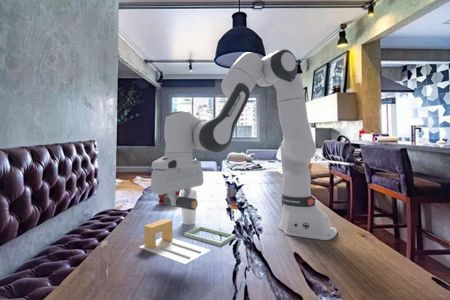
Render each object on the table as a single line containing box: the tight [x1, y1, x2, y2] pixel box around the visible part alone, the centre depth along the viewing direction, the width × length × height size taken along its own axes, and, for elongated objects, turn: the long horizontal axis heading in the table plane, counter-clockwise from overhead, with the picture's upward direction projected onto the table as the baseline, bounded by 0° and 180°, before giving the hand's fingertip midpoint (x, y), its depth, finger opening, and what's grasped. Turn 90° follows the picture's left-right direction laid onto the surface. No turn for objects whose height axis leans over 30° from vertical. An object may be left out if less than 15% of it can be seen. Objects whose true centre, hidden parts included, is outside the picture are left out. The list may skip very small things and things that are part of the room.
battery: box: [163, 195, 199, 210], centre depth 87 cm, size 13×4×4 cm, turn 54°
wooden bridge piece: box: [143, 218, 174, 248], centre depth 93 cm, size 4×9×7 cm, turn 144°
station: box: [138, 237, 212, 265], centre depth 89 cm, size 22×12×2 cm, turn 54°
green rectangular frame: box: [183, 225, 236, 247], centre depth 99 cm, size 17×9×2 cm, turn 54°
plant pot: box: [157, 190, 181, 206], centre depth 156 cm, size 13×13×12 cm
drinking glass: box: [180, 189, 198, 226], centre depth 116 cm, size 7×7×15 cm
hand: (180, 203), depth 87 cm, fingers closed on battery, 3 cm apart
